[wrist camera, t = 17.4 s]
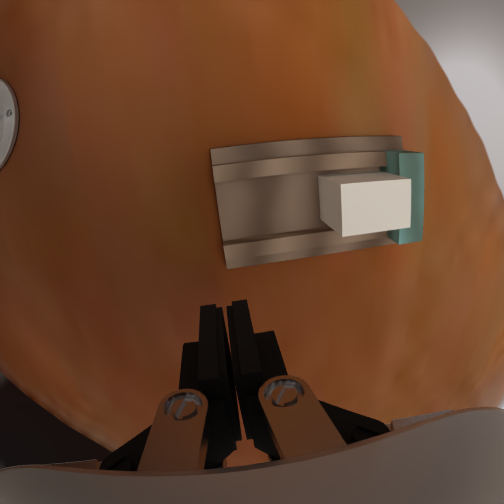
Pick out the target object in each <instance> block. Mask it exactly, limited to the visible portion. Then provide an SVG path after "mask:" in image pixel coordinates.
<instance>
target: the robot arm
mask: <svg viewBox="0 0 504 504" xmlns="http://www.w3.org/2000/svg"><path fill="white" fill-rule="evenodd" d="M18 121H19V114H18V105H17V99H16V97H15V94H14V91H13V90H12V88H11V87H10V85H9V84H8V83H7V82H6V81H4V80H2V79H0V169H1V168H2V167H3V166H4V164H5V163H6V161H7V160H8V158H9V156H10V154H11V152H12V149H13V146H14V143H15V140H16V136H17V131H18ZM226 307H227V317H228V328H229V338H230V347H231V353H230V348H229V343H228V337H227V332H226V327H225V321H224V316H223V310H222V307H218V308H216V304H212V305H204V306H200V325H199V341H198V342H190V343H184V344H183V351H182V361H181V371H180V382H179V390H176V391H173V392H171V393H169V394H168V395H166V396H165V397H164V398H163V399H162V400H161V402H160V404H159V406H158V409H157V412H156V415H155V418H154V421H153V424H152V425H151V426H149V427H148V428H147V429H145V430H144V431H143V432H141V433H140V434H138V435H137V436H136V437H134V438H133V439H131V440H130V441H128V442H127V443H126V444H124V445H123V446H121V447H120V448H118V449H117V450H115V451H114V452H112V453H111V454H110V455H108V456H107V457H106V458H105V459H104V460H103V461H102V462H98V461H97V460H96V459H95V460H88V461H80V462H69V463H59V464H47V465H21V466H14V467H8V468H4V469H1V470H0V504H504V409H501V408H497V407H476V408H466V409H462V410H457V411H454V410H445V411H440V412H436V413H430V414H425V415H420V416H414V417H408V418H402V419H395V420H392V421H391V423H390V424H384V423H382V422H380V421H378V420H376V419H373V418H369V417H366V416H363V415H360V414H357V413H354V412H351V411H348V410H345V409H342V408H339V407H337V406H334V405H331V404H328V403H325V402H323V401H320V400H318V399H317V398H316V396H315V395H314V393H313V391H312V390H311V388H310V387H309V385H308V384H307V383H306V382H305V381H304V380H302V379H301V378H299V377H295V376H291V375H288V374H287V371H286V368H285V364H284V361H283V358H282V355H281V352H280V349H279V346H278V342H277V339H276V336H275V333H274V331H268V332H262V333H255V334H254V331H253V327H252V322H251V318H250V313H249V308H248V304H247V300H240V301H233V302H232V306H226ZM231 357H232V359H231ZM235 386H236V387H235ZM236 391H237V395H238V400H239V405H240V410H241V414H242V419H243V424H244V428H245V433H246V437H247V440H248V439H253V441H254V446H255V448H257V449H259V450H261V451H263V452H265V453H267V455H268V460H269V462H265V463H259V464H252V465H244V466H236V467H227V460H226V457H228V456H229V455H230V454H231V453H232V452H233V451H234V450H237V447H236V441H241V440H242V436H241V428H240V420H239V412H238V404H237V395H236Z"/></svg>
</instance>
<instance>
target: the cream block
mask: <svg viewBox="0 0 504 504" xmlns="http://www.w3.org/2000/svg"><path fill="white" fill-rule="evenodd" d="M318 184H319V200H320V218H321V220H322V221H323V222H325V223H326V224H327V225H328V226H330V227H331V228H332V229H333V230H334V231H336V232H337V233H338V234H339V235H341V236H342V237H345V236H353V235H360V234H367V233H374V232H381V231H388V230H395V229H402V228H409V227H410V223H411V179H410V178H406V177H402V176H399V175H395V174H391V173H387V172H383V171H367V172H353V173H340V174H328V175H318Z"/></svg>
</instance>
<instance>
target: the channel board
mask: <svg viewBox="0 0 504 504" xmlns="http://www.w3.org/2000/svg"><path fill="white" fill-rule="evenodd" d="M210 151H211V159H212V168H213V176H214V183H215V189H216V196H217V203H218V210H219V217H220V224H221V231H222V238H223V247H224V253H225V260H226V265H227V269H231V268H238V267H245V266H252V265H258V264H265V263H272V262H279V261H285V260H292V259H299V258H305V257H312V256H318V255H325V254H331V253H338V252H344V251H350V250H357V249H363V248H369V247H376V246H382V245H388V244H394V243H397V244H405V243H411V242H417V241H422V234H423V214H424V153H420V152H413V151H406V150H402V136H356V137H331V138H313V139H299V140H286V141H275V142H265V143H255V144H246V145H238V146H229V147H222V148H214V149H210ZM367 171H383V172H387V173H391V174H395V175H399V176H402V177H406V178H410V179H411V223H410V227H409V228H402V229H395V230H388V231H381V232H374V233H367V234H360V235H353V236H345V237H342V236H341V235H339V234H338V233H337V232H336V231H334V230H333V229H332V228H331V227H330V226H328V225H327V224H326V223H325V222H323V221H322V220H321V218H320V200H319V184H318V175H328V174H340V173H353V172H367Z"/></svg>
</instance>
